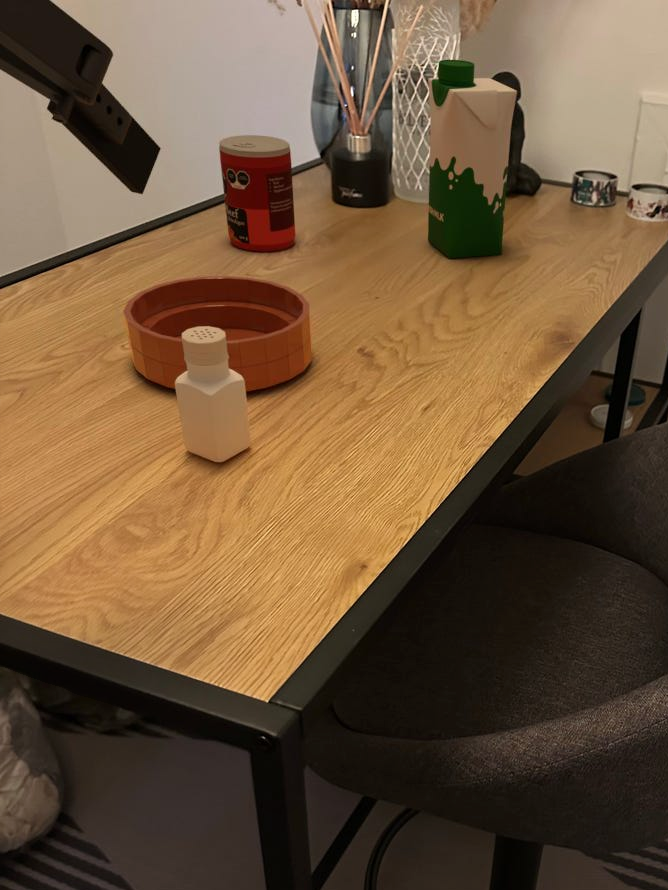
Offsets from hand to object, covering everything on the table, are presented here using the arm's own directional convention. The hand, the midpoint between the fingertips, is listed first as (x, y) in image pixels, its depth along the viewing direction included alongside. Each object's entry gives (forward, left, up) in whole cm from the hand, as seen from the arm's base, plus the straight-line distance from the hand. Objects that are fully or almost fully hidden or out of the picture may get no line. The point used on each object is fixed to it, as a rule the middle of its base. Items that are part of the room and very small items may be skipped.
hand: (49, 150), depth 52 cm
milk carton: (-6, +68, -24) cm, 72 cm away
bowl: (-10, +25, -24) cm, 36 cm away
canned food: (-27, +55, -24) cm, 65 cm away
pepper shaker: (0, +11, -24) cm, 26 cm away
